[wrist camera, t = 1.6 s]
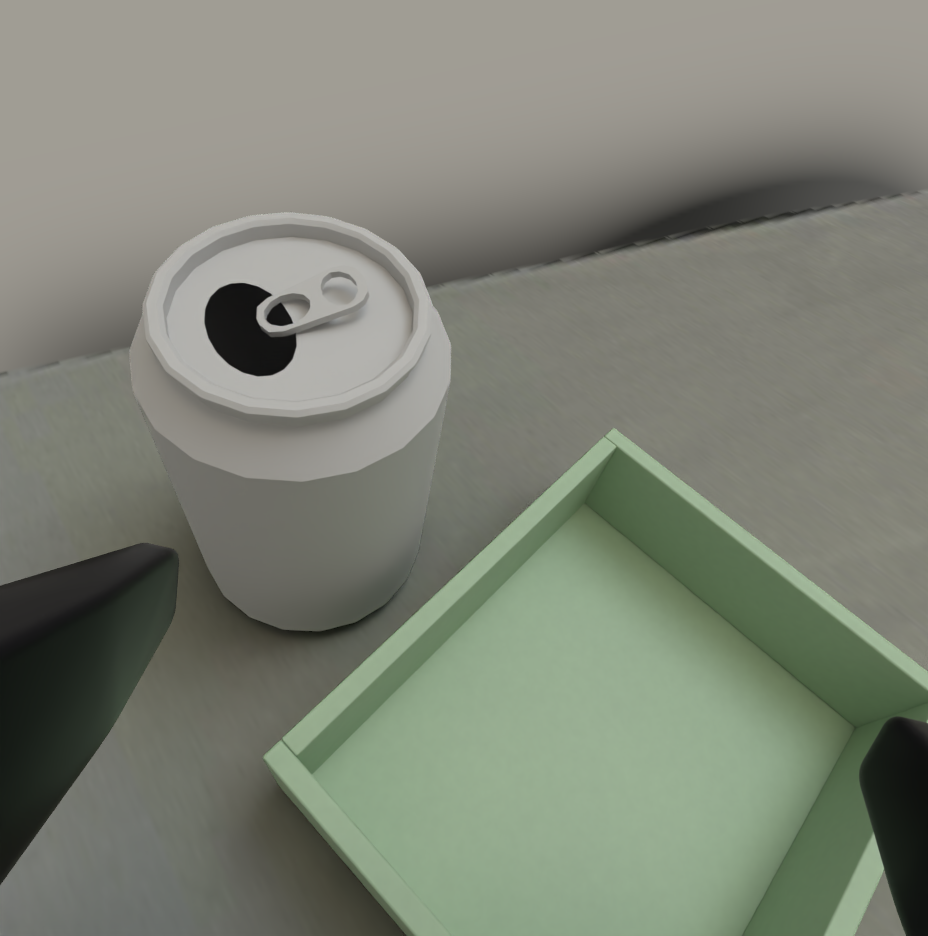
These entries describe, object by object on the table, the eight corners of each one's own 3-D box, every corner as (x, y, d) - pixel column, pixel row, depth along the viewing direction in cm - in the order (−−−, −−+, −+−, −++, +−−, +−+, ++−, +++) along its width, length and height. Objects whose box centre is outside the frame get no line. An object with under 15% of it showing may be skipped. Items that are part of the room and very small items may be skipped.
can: (182, 492, 25) (71, 219, 15) (371, 431, 28) (382, 164, 18) (246, 677, 22) (158, 486, 12) (452, 589, 25) (521, 373, 15)
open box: (625, 1193, 17) (702, 1272, 13) (277, 783, 21) (261, 756, 17) (869, 730, 24) (963, 697, 20) (578, 490, 28) (613, 426, 24)
